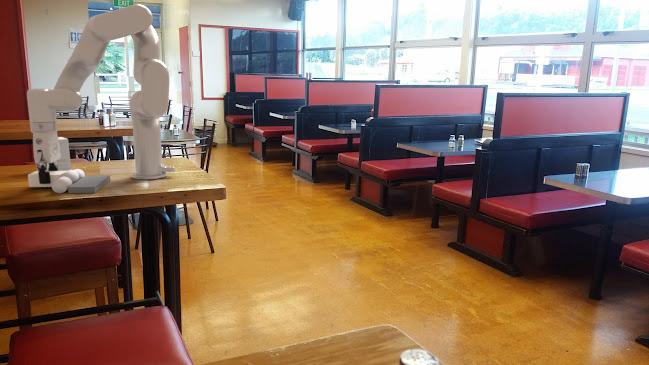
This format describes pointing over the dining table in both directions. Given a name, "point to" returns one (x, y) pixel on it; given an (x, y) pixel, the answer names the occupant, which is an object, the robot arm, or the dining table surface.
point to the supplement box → (64, 155)
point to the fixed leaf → (81, 183)
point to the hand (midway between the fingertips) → (49, 180)
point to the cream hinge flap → (52, 177)
